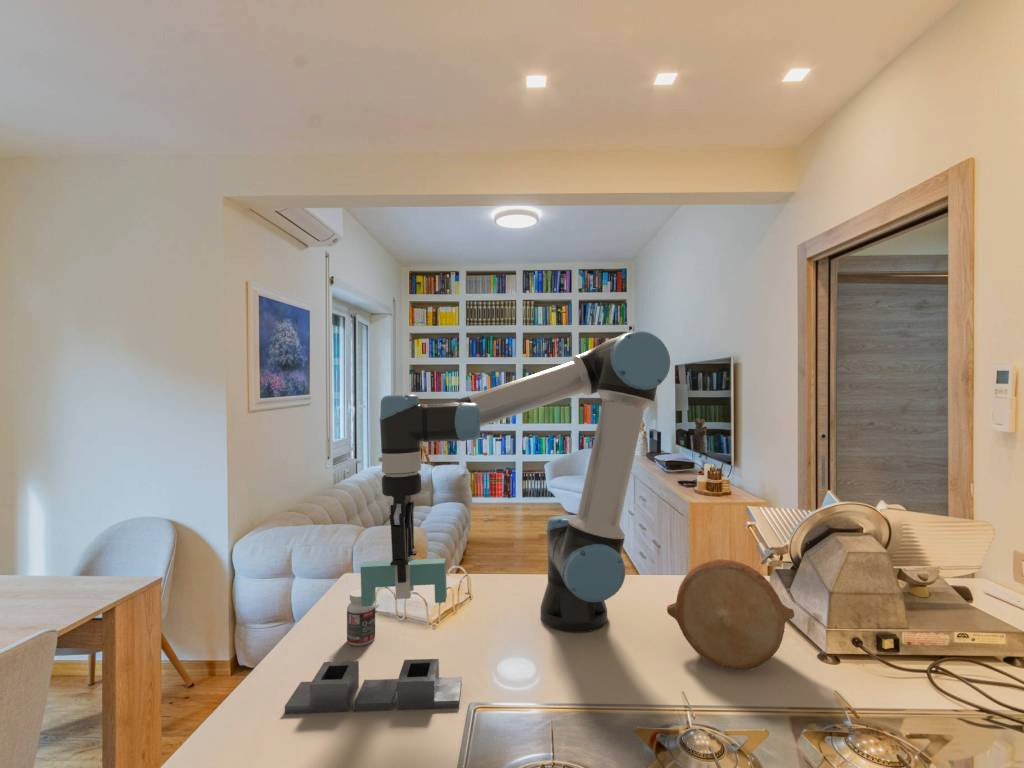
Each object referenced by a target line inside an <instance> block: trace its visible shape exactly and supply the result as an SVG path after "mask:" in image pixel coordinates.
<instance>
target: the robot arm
mask: <svg viewBox="0 0 1024 768" xmlns="http://www.w3.org/2000/svg"><path fill="white" fill-rule="evenodd" d="M670 369H671V357H670V353H669V350H668V347H667V346H666V345H665V344H664V341H662V339H660V338H659V337H658V336H656V335H655V334H653V333H651V332H648V331H642V330H638V331H637V330H634V331H633V330H632V331H626V332H624V333H622V334H620V335H619V336H616V337H614V338H610V339H608V340H606V341H604V342H603V343H600V344H599V345H597V346H595V347H594V348H591V349H589V350H587V351H584V352H582V353H580V354H576V355H574V356H573V359H572V360H571V361H569V362H566V363H563V364H560V365H557V366H554V367H551V368H548V369H545V370H542V371H539V372H536V373H533V374H531V375H526V376H524V377H522V378H518V379H515V380H512V381H509V382H506V383H503V384H500V385H496V386H494V387H491V388H488V389H485V390H482V391H479V392H476V393H473V394H470V395H468V396H465V397H461V398H458V399H455V400H450V401H447V402H445V403H432V404H431V403H430V404H429V403H428V404H427V403H421V402H420V399H419V398H420V397H419V396H418V395H417V394H397V395H396V394H393V395H392V394H391V395H385V396H383V397H382V399H380V412H379V413H380V418H379V425H380V426H379V427H380V430H379V431H380V447H381V449H380V452H381V456H380V457H379V458H378V462H380V463H381V472H382V473H383V474H384V475H382V476H381V491H382V492H381V493H382V494H383V495H384V496H385V497H392V498H393V501H392V502H393V503H392V504H391V505H390V514H389V518H388V519H389V524H390V535H391V536H390V537H391V538H390V539H391V557H392V559H391V561H392V562H391V563H390V564H391V566H393V565H395V586H394V587H395V588H394V589H395V599H396V600H400V599H401V600H404V599H411V597H412V596H411V592H414V587H415V585H414V586H410V563H409V560H414V557H413V556H417V550H414V549H415V542H414V541H415V531H414V527H415V525H414V524H415V523H414V522H415V521H414V519H415V518H414V517H415V516H414V509H415V501H414V500H413V499H412V496H416V495H418V494H420V493H421V491H422V475H421V473H420V472H421V470H422V456H421V455H422V453H421V452H422V451H421V443H429V442H458V441H459V442H466V441H473V440H478V439H479V438H480V435H481V427H484V426H487V425H490V424H493V423H496V422H499V421H503V420H505V419H508V418H511V417H515V416H517V415H519V414H523V413H526V412H529V411H533V410H535V409H538V408H540V407H543V406H546V405H550V404H552V403H555V402H559V401H563V400H565V399H567V398H571V397H574V396H576V395H579V394H584V395H587V396H590V395H593V394H596V393H598V395H599V396H600V398H601V401H602V403H601V406H600V411H599V415H598V420H597V425H596V430H595V433H594V438H593V439H594V440H593V442H592V447H591V453H590V455H589V460H588V461H589V462H588V467H587V470H586V473H585V474H586V475H585V479H584V484H583V489H582V493H581V497H580V503H579V505H578V511H577V514H570V515H569V514H565V515H564V514H563V515H556V516H551V517H550V518H548V520H547V527H546V530H545V531H546V533H547V534H546V536H547V537H546V539H547V544H546V545H547V549H546V550H547V585H546V588H545V591H544V594H543V598H542V601H541V604H540V619H541V621H542V623H543V624H544V625H546V626H548V627H550V628H552V629H555V630H558V631H563V632H568V633H585V632H591V631H595V630H598V629H600V628H602V627H604V626H605V625H606V624H607V623H608V608H607V604H606V602H605V601H607V600H608V599H610V598H612V597H613V596H615V595H616V594H617V593H618V592H619V591H620V589H621V588H622V586H623V584H624V581H625V578H626V566H625V562H624V559H623V557H622V552H623V548H624V543H625V538H626V534H625V533H624V532H623V530H622V528H621V525H620V524H621V520H622V514H623V510H624V505H625V500H626V495H627V491H628V488H629V482H630V478H631V477H630V476H631V473H632V467H633V464H634V459H635V454H636V449H637V445H638V441H639V435H640V431H641V426H642V421H643V417H644V412H645V410H646V409H647V408H649V407H650V406H652V405H653V404H654V403H655V398H656V393H657V390H658V386H660V385H661V384H662V383H663V382H664V381H665V379H666V378H667V377H668V374H669V373H670Z"/></svg>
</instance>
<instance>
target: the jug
mask: <svg viewBox="0 0 1024 768" xmlns="http://www.w3.org/2000/svg"><path fill="white" fill-rule="evenodd" d="M666 611H667V614H668V615H669V616H670V617H672V618H673V619H674V620H675V621H676V622H677V623H678V626H679V629H680V631H681V633H682V635H683V636H684V638H685V640H686V641H687V643H688V644H689V645H690V646H691V647H692V648H693V650H694V651H695V652H696V653H697V654H698V655H700V657H702V658H703V659H704V660H706V661H707V662H709V663H711V664H712V665H713V664H714V665H716V666H718V667H721V668H726V669H730V670H736V671H738V670H740V671H741V670H742V671H743V670H749V669H750V670H751V669H754V668H758V667H759V666H760V665H762V664H764V663H766V662H768V660H770V659H771V658H772V657H773V656H775V655H776V653H777V652H778V650H779V649H780V646H781V645H782V641H783V638H784V634H785V628H786V622H787V621H789V620H792V619H794V617H795V611H794V609H792V608H789V607H787V606H786V605H784V604H783V602H782V601H781V599H780V597H779V594H778V593H777V592H776V590H775V589H774V587H773V585H772V584H771V582H769V580H768V579H766V578H765V576H764V575H762V573H760V571H757V570H756V569H754V568H753V567H752V566H749V565H747V564H744V563H743V562H739V561H736V560H730V559H722V558H721V559H714V560H710V561H705V562H702V563H700V564H699V565H697V566H695V567H693V568H692V569H691V570H690V571H689V572H688V573H687V574H686V575H685V577H684V578H683V580H682V581H681V583H680V586H679V588H678V590H677V596H676V601H675V602H674V603H672V604H669V605H667V607H666Z"/></svg>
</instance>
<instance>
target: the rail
mask: <svg viewBox="0 0 1024 768" xmlns="http://www.w3.org/2000/svg"><path fill="white" fill-rule="evenodd" d="M439 662H440V660H439V658H428V659H427V658H421V659H404V661H403V663H402V667H401V669H400V673H399V676H398V678H389V679H388V678H385V679H364V680H363V683H362V685H361V687H360V684H359V681H360V680H359V679H360V678H359V677H360V674H359V671H360V670H359V668H360V667H359V660H355V661H354V660H352V661H350V660H349V661H324V662H323V663H322V665H321V666H320V668H319V670H318V671H317V673H316V674H315V676H313V677H314V678H313V679H312V681H300V682H299V684H298V686H297V687H296V689H295V690H294V692H293V693H292V695H291V696H290V698H289V699H288V700H287V702H286V703H285V705H284V714H285V715H286V714H287V715H289V714H291V715H292V714H314V713H315V714H316V713H317V714H318V713H320V714H321V713H347V712H348V711H349V709H350V707H351V704H352V703H353V712H377V711H378V712H379V711H380V712H381V711H392V709H393V705H394V702H395V699H396V701H397V702H396V707H397V708H396V710H397V711H408V710H410V711H411V710H413V711H414V710H438V709H440V710H441V709H460V703H461V702H460V701H461V693H462V692H461V691H462V684H463V683H462V681H463V680H462V676H453V677H452V676H451V677H447V676H446V677H440V670H439V669H440V663H439ZM359 687H360V688H359ZM358 689H359V691H358ZM356 694H357V696H356ZM355 696H356V698H355ZM354 699H355V700H354ZM353 700H354V702H353Z"/></svg>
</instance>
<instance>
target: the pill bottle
mask: <svg viewBox="0 0 1024 768" xmlns="http://www.w3.org/2000/svg"><path fill="white" fill-rule="evenodd" d="M349 601H350V602H349V604H348V605H347V607H346V641H347V643H348V644H349V645H350V646H352V647H353V646H355V647H359V646H366V645H368V644H370V643H372V642H374V640H375V638H376V602H374V604H373V605H372V606H362V603H361V588H359V589H358V588H357V589H354V590H352V591H350V593H349Z"/></svg>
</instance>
